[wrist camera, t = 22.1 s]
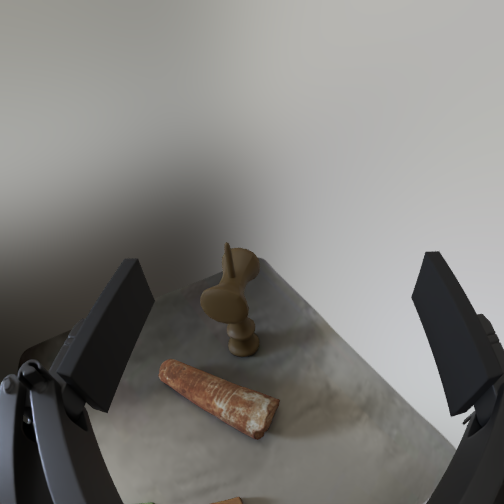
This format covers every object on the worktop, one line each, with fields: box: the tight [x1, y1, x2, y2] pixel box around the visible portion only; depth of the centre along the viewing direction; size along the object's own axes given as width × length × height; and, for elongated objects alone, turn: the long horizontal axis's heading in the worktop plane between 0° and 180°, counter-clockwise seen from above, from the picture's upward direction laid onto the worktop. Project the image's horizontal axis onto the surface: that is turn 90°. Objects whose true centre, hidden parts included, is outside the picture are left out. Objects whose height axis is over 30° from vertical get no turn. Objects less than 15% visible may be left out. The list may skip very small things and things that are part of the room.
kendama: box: [200, 242, 260, 357], centre depth 39 cm, size 6×10×20 cm, turn 168°
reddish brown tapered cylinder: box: [159, 359, 280, 440], centre depth 35 cm, size 6×19×6 cm, turn 58°
